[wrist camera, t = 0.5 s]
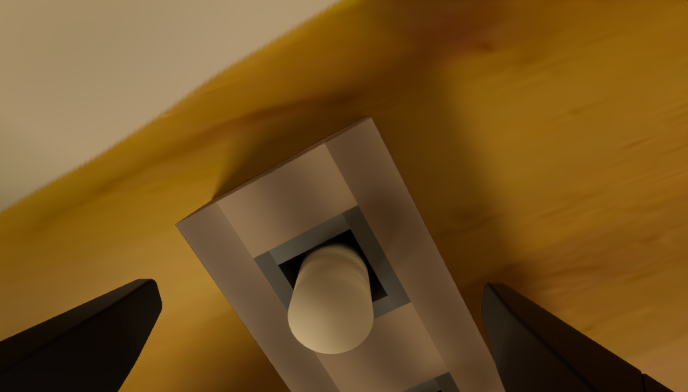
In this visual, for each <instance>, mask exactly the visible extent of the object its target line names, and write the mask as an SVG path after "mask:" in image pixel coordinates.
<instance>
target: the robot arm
mask: <svg viewBox="0 0 688 392" xmlns="http://www.w3.org/2000/svg"><path fill="white" fill-rule="evenodd" d="M161 310H162V301H161V297H160V294H159V290H158V286H157V283H156V282H155V280H153V279H137V280H135V281H133V282H130V283H128V284H126V285H124V286H122V287H119V288H117V289H115V290H113V291H111V292H108V293H106V294H104V295H102V296H99V297H97V298H95V299H93V300H91V301H88V302H86V303H84V304H82V305H80V306H77V307H75V308H73V309H71V310H69V311H66V312H64V313H62V314H60V315H58V316H55V317H53V318H51V319H49V320H47V321H44V322H42V323H40V324H38V325H35V326H33V327H31V328H29V329H27V330H24V331H22V332H20V333H18V334H16V335H13V336H11V337H9V338H7V339H5V340H2V341H0V392H118V391H119V389H120V387H121V386H122V384H123V383H124V381H125V379H126V378H127V376H128V374H129V373H130V371H131V369H132V368H133V366H134V364H135V363H136V361H137V359H138V357H139V355H140V353H141V351H142V349H143V347H144V345H145V343H146V341H147V339H148V337H149V335H150V333H151V331H152V329H153V327H154V325H155V323H156V321H157V319H158V317H159V315H160V313H161ZM481 312H482V318H483V322H484V325H485V329H486V333H487V336H488V340H489V343H490V347H491V350H492V354H493V357H494V361H495V365H496V368H497V371H498V374H499V377H500V379H501V382H502V385H503V387H504V390H505V392H674V391H672V390H670V389H669V388H667V387H665V386H664V385H662V384H661V383H659V382H658V381H656V380H655V379H653V378H651V377H650V376H648V375H647V374H644V373H643V374H642V372H641V371H640V370H639V369H637V368H636V367H634V366H633V365H631V364H629V363H628V362H626V361H625V360H623V359H622V358H620V357H618V356H617V355H615V354H614V353H612V352H611V351H609V350H607V349H606V348H604V347H603V346H601V345H600V344H598V343H597V342H595V341H593V340H592V339H590V338H589V337H587V336H586V335H584V334H582V333H581V332H579V331H578V330H576V329H575V328H573V327H572V326H570V325H568V324H567V323H565V322H564V321H562V320H561V319H559V318H557V317H556V316H554V315H553V314H551V313H550V312H548V311H546V310H545V309H543V308H542V307H540V306H539V305H537V304H536V303H534V302H532V301H531V300H529V299H528V298H526V297H525V296H523V295H521V294H520V293H518V292H517V291H515V290H514V289H512V288H511V287H509V286H507V285H506V284H504V283H501V282H488V283H486V285H485V287H484V293H483V300H482V308H481Z"/></svg>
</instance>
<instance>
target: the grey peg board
mask: <svg viewBox="0 0 688 392" xmlns="http://www.w3.org/2000/svg"><path fill="white" fill-rule="evenodd" d="M175 225H176V227H177V228H178V230H179V231H180V232H181V234H182V235H183V237H184V238H185V240H186V241H187V243H188V244H189V245H190V247H191V248H192V250H193V251H194V253H195V254H196V255H197V257H198V258H199V260H200V261H201V263H202V264H203V266H204V267H205V268H206V270H207V271H208V273H209V274H210V276H211V277H212V279H213V280H214V281H215V283H216V284H217V286H218V287H219V289H220V290H221V291H222V293H223V294H224V296H225V297H226V299H227V300H228V302H229V303H230V304H231V306H232V307H233V309H234V310H235V312H236V313H237V315H238V316H239V317H240V319H241V320H242V322H243V323H244V325H245V326H246V327H247V329H248V330H249V332H250V333H251V335H252V336H253V338H254V339H255V340H256V342H257V343H258V345H259V346H260V348H261V349H262V351H263V352H264V353H265V355H266V356H267V358H268V359H269V361H270V362H271V363H272V365H273V366H274V368H275V369H276V371H277V372H278V374H279V375H280V376H281V378H282V379H283V381H284V382H285V384H286V385H287V386H288V388H289V389H290V391H291V392H505V390H504V387H503V385H502V382H501V379H500V377H499V374H498V371H497V368H496V365H495V362H494V360H493V358H492V356H491V354H490V352H489V350H488V348H487V346H486V344H485V342H484V340H483V338H482V336H481V334H480V332H479V330H478V328H477V326H476V324H475V322H474V320H473V318H472V316H471V314H470V312H469V310H468V308H467V306H466V304H465V302H464V300H463V298H462V296H461V294H460V292H459V290H458V288H457V286H456V284H455V282H454V280H453V278H452V276H451V274H450V272H449V270H448V268H447V266H446V264H445V263H444V261H443V259H442V257H441V255H440V253H439V251H438V249H437V247H436V245H435V243H434V241H433V239H432V237H431V235H430V233H429V231H428V229H427V227H426V225H425V223H424V221H423V219H422V217H421V215H420V213H419V211H418V209H417V207H416V205H415V203H414V201H413V199H412V197H411V195H410V193H409V191H408V189H407V187H406V185H405V183H404V181H403V179H402V177H401V175H400V173H399V171H398V169H397V167H396V165H395V163H394V161H393V159H392V157H391V155H390V153H389V151H388V149H387V147H386V145H385V143H384V141H383V139H382V137H381V135H380V133H379V131H378V129H377V127H376V125H375V123H374V121H373V119H372V117H368V116H365V117H363V118H361V119H359V120H357V121H356V122H354V123H352V124H350V125H348V126H346V127H345V128H343V129H341V130H339V131H337V132H335V133H334V134H332V135H330V136H328V137H326V138H325V139H323V140H321V141H319V142H317V143H315V144H314V145H312V146H310V147H308V148H306V149H304V150H303V151H301V152H299V153H297V154H295V155H293V156H292V157H290V158H288V159H286V160H284V161H282V162H281V163H279V164H277V165H275V166H273V167H271V168H270V169H268V170H266V171H264V172H262V173H260V174H259V175H257V176H255V177H253V178H251V179H249V180H248V181H246V182H244V183H242V184H240V185H238V186H237V187H235V188H233V189H231V190H229V191H228V192H226V193H224V194H222V195H220V196H218V197H217V198H215V199H213V200H211V201H210V202H208V203H207V204H205V205H204V206H202V207H201V208H199V209H198V210H196V211H195V212H193V213H192V214H190V215H189V216H187V217H186V218H184V219H183V220H181V221H180V222H178V223H177V224H175ZM349 229H351V231H352V233H353V234H354V236H355V238H356V240H357V242H358V243H359V245H360V247H361V249H362V250H363V252H364V254H365V256H366V258H367V259H368V261H369V264H367V269H368V277H369V284H370V291H371V299H372V306H373V314H374V319H373V325H372V329H371V331H370V333H369V335H368V336H367V338H366V339H365V340H364V341H363V342H362V343H361V344H360V345H358V346H357V347H355V348H353V349H352V350H349V351H347V352H343V353H338V354H324V353H319V352H316V351H313V350H311V349H309V348H307V347H306V346H304V345H303V344H302V343H300V342H299V341H298V340H297V339H296V337H295V336H294V335H293V333H292V331H291V329H290V326H289V322H288V309H289V305H290V302H291V298H292V295H293V291H294V288H295V284H296V281H297V278H298V274H299V271H300V267H301V264H302V261H303V258H304V256H305V254H304V253H303V252H305V251H307V250H309V249H311V248H313V247H315V246H317V245H319V244H321V243H323V242H325V241H327V240H329V239H331V238H333V237H335V236H337V235H339V234H341V233H343V232H345V231H347V230H349Z"/></svg>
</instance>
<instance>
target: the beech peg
mask: <svg viewBox="0 0 688 392" xmlns="http://www.w3.org/2000/svg"><path fill="white" fill-rule="evenodd" d="M373 319H374V314H373V306H372V299H371V291H370V284H369V277H368V269H367V263H366V260H365V257H364V255H363V254H362V252H361V251H360V250H359V249H358V248H357V247H356V246H354V245H353V244H351V243H349V242H347V241H344V240H340V239H329V240H327V241H325V242H323V243H321V244H319V245H317V246H315V247H313V248H311V249H309V250H308V251H307V253H306V254H305V256H304V258H303V261H302V264H301V267H300V271H299V274H298V278H297V281H296V284H295V288H294V291H293V295H292V298H291V302H290V305H289V309H288V322H289V326H290V329H291V331H292V333H293V335H294V336H295V337H296V339H297V340H298V341H299V342H300V343H302V344H303V345H304V346H306V347H307V348H309V349H311V350H313V351H316V352H319V353H324V354H338V353H343V352H347V351H349V350H352V349H353V348H355V347H357V346H358V345H360V344H361V343H362V342H363V341H364V340H365V339H366V338H367V336H368V335H369V333H370V331H371V329H372V325H373Z"/></svg>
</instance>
